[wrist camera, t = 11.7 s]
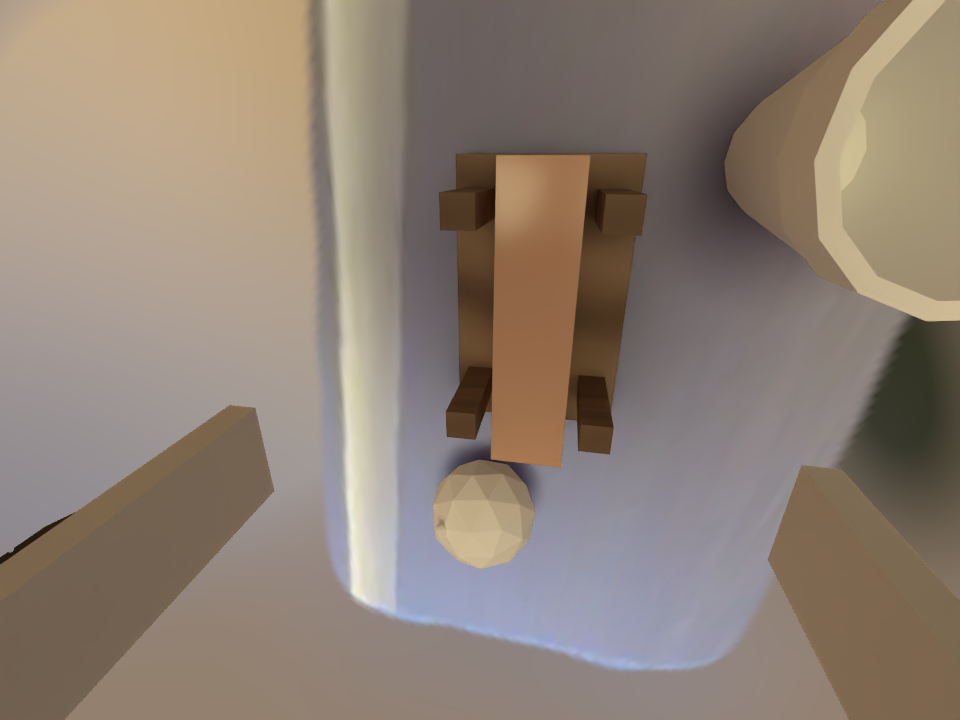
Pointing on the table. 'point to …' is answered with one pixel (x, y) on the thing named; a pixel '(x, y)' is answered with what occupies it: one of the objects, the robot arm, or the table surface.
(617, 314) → the rack
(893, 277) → the foam cup
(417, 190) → the table surface
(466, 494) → the cream rounded egg shape
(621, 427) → the table surface
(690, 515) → the table surface
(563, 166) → the clay bar
